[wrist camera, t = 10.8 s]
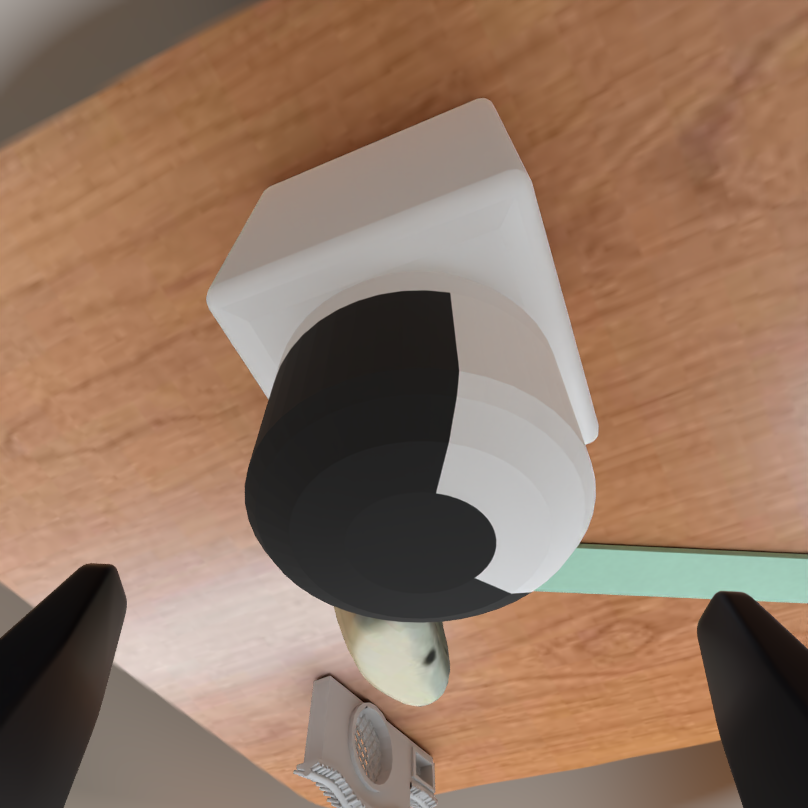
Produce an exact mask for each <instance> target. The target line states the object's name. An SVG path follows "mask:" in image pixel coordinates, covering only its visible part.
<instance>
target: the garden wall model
mask: <svg viewBox="0 0 808 808" xmlns="http://www.w3.org/2000/svg"><path fill="white" fill-rule="evenodd" d="M356 726H357V727H356ZM355 727H356V728H355ZM357 730H358V731H359V733H360V736H358V734H357ZM361 731H362V732H361ZM355 735H356V738H357V742H356V740H355ZM363 735H364V736H363ZM361 738H362V740H363V742H364V744H363V745H362V743H361ZM358 743H359V745H360V747H361V749H359V747H358ZM364 747H366V749H367V752H365V750H364ZM356 749H357V750H356ZM357 751H358V754H357ZM362 751H363V754H364V757H363V756H362V754H361V753H362ZM367 755H368V757H367ZM359 757H360V758H361V760H362V761H360V759H359ZM365 759H366V761H367V763H368V764H367V765H366V763H365ZM362 765H364V767H365V770H364V768H363V766H362ZM366 772H367V775H366ZM294 774H298V775H299V776H303V777H305V778H307V779H310V780H311V781H313V782H316V786H320V790H322V791H327V792H324V793H323V794H324V795H325V796H331V798H327V802H332V803H331V805H332V806H334V807H337V808H410V807H413V808H433V807H435V806H436V805H437V803H438V801H437V799H436V798H435V797H434V793H435V769H434V763H433V758H432V757H431V756H430V755H428V754H427V753H426V752H425V751H423V750H422V749H421V748H420V747H418V746H417V745H416V744H415V743H413V742H412V741H411V740H410V739H409V738H407V737H406V736H405V735H404V734H402V733H401V732H400V731H399V730H397V729H396V728H395V727H394V726H392V725H391V724H390V723H389V722H387V721H386V719H385V717H384V715H383V713H382V712H381V711H380V710H379V709H378V708H377V706H375V705H373V704H371V703H370V702H369V703H364V702H362V701H361V700H360V699H359V698H357V697H356V696H355V695H354V694H352V693H351V692H350V691H349V690H347V689H346V688H345V687H344V686H342V685H341V684H340V683H339V682H337V681H336V680H335V679H334V678H332V677H331V676H328V677H325V678H322V679H319V680H316V681H314V684H313V692H312V700H311V708H310V716H309V724H308V732H307V740H306V749H305V757H304V763H302V764H298V765H297V770H294Z"/></svg>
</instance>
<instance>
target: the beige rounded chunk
mask: <svg viewBox="0 0 808 808" xmlns="http://www.w3.org/2000/svg"><path fill="white" fill-rule="evenodd" d="M334 609H335V613H336V618H337V621H338V623H339V626H340V629H341V632H342V635H343V637H344V640H345V643H346V645H347V648H348V650H349V652H350V654H351V656H352V657H353V659H354V661H355V663H356V665H357V667H358V669H359V671H360V672H361V673H362V675H363V676H364V678H365V679H366V680H367V681H368V682H369V683H370V684H371V685H373V686H374V687H375V688H376V689H378V690H379V691H381V692H383V693H384V694H386V695H388V696H389V697H391V698H393V699H395V700H398V701H400V702H402V703H403V704H407V705H412V706H420V707H421V706H425V705H429V704H431V703H432V702H434V701H436V700H438V699H439V697H440V696H441V695H442V694H443V693H444V691H445V688H446V686H447V684H448V678H449V673H450V660H449V653H448V646H447V641H446V637H445V633H444V629H443V623H442V622H426V623H415V622H397V621H388V620H381V619H376V618H371V617H366V616H362V615H358V614H355V613H351V612H348V611H345V610H342V609H340V608H337V607H335V606H334Z"/></svg>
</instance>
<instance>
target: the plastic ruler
mask: <svg viewBox="0 0 808 808" xmlns="http://www.w3.org/2000/svg"><path fill="white" fill-rule="evenodd" d="M534 591H545V592H567V593H589V594H612V595H634V596H657V597H679V598H702V599H712V597H713V596H714V595H715V594H716V593H717V592H719V591H736V592H744V593H746V594H748V595H749V596H751V597H752V598H753V599H754V600H755V601H769V602H791V603H808V554H791V553H769V552H748V551H727V550H706V549H685V548H664V547H643V546H622V545H601V544H580V543H579V545H578V546H577V548H576V549H575V550H574V552H573V553H572V554H571V556H570V557H569V558H568V559H567V561H566V562H565V563H564V564H563V566H562V567H561V568H560V569H559V570H558V571H557V572H556V573H555V574H554V575H553V576H552V577H551V578H550V579H549V580H548V581H547V582H545V583H544V584H542V585H541V586H540V587H538V588H537V589H536V590H534Z"/></svg>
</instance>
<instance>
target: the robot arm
mask: <svg viewBox="0 0 808 808" xmlns="http://www.w3.org/2000/svg"><path fill="white" fill-rule="evenodd" d="M126 608H127V600H126V595H125V592H124V589H123V586H122V583H121V580H120V577H119V574H118V571H117V569H116V567H115V566H113V565H111V564H94V563H90V564H86V565H83V566H82V567H80V568H79V569H78V570H77V571H75V572H74V573H73V574H72V575H71V576H70V577H69V578H68V579H66V580H65V581H64V582H63V583H62V584H61V585H60V586H59V587H57V588H56V589H55V590H54V591H53V592H52V593H51V594H49V595H48V596H47V597H46V598H45V599H44V600H43V601H42V602H40V603H39V604H38V605H37V606H36V607H35V608H34V609H33V610H32V611H30V612H29V613H28V614H27V615H26V616H25V617H24V618H22V619H21V620H20V621H19V622H18V623H17V624H16V625H15V626H13V627H12V628H11V629H10V630H9V631H8V632H7V633H5V634H4V635H3V636H2V637H1V638H0V808H64V805H65V802H66V800H67V797H68V795H69V792H70V789H71V787H72V784H73V781H74V779H75V776H76V774H77V771H78V768H79V766H80V763H81V761H82V758H83V755H84V753H85V750H86V747H87V745H88V742H89V740H90V737H91V734H92V732H93V729H94V726H95V723H96V720H97V718H98V715H99V711H100V707H101V704H102V701H103V697H104V694H105V689H106V686H107V682H108V678H109V675H110V671H111V667H112V663H113V659H114V656H115V652H116V648H117V644H118V641H119V637H120V633H121V629H122V625H123V622H124V618H125V614H126ZM697 636H698V641H699V646H700V650H701V655H702V659H703V664H704V668H705V673H706V677H707V682H708V686H709V691H710V695H711V700H712V704H713V709H714V713H715V718H716V722H717V726H718V730H719V734H720V738H721V741H722V744H723V747H724V751H725V754H726V757H727V759H728V763H729V766H730V769H731V772H732V775H733V777H734V781H735V783H736V787H737V790H738V793H739V796H740V799H741V802H742V805H743V808H808V649H807V648H806V647H805V646H804V645H803V644H802V643H801V642H800V641H799V640H798V639H796V638H795V637H794V636H793V635H792V634H791V633H790V632H789V631H788V630H787V629H786V628H785V627H783V626H782V625H781V624H780V623H779V622H778V621H777V620H776V619H775V618H774V617H773V616H772V615H771V614H769V613H768V612H767V611H766V610H765V609H764V608H763V607H762V606H761V605H760V604H759V603H758V602H757V601H755V600H754V599H753V598H752V597H751V596H749V595H748V594H746V593H744V592H736V591H719V592H717V593H716V594H715V595H714V596H713V597H712V599H711V601H710V603H709V604H708V606H707V608H706V609H705V611H704V613H703V615H702V616H701V618H700V620H699V622H698V626H697Z"/></svg>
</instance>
